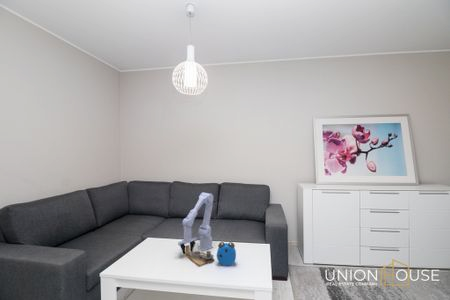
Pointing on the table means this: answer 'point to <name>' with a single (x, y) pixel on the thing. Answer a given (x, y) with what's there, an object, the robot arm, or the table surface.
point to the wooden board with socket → (201, 258)
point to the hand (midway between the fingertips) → (187, 252)
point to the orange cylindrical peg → (187, 250)
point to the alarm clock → (226, 253)
